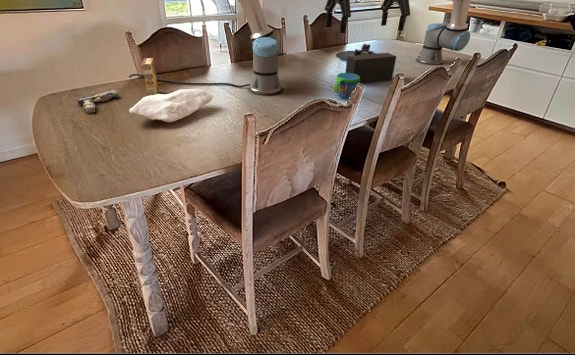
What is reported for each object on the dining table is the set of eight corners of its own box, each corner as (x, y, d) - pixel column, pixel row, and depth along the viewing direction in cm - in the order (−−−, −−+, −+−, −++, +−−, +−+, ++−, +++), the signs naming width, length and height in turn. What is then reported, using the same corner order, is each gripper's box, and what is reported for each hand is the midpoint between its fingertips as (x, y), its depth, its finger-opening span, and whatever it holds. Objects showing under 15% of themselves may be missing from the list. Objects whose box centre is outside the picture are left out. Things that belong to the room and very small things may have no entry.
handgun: (128, 97, 156) (111, 87, 164) (86, 107, 144) (70, 97, 152) (129, 103, 157) (113, 94, 165) (88, 114, 146) (72, 103, 154)
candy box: (157, 97, 164) (152, 63, 155) (147, 98, 163) (141, 63, 155) (158, 91, 171) (153, 57, 163) (149, 91, 170) (143, 58, 162)
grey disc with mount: (401, 60, 233) (403, 45, 228) (362, 67, 215) (363, 51, 211) (362, 51, 258) (364, 38, 253) (324, 57, 240) (325, 42, 236)
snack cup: (350, 91, 181) (353, 70, 175) (365, 97, 173) (368, 76, 168) (326, 96, 173) (328, 75, 168) (340, 103, 166) (343, 81, 160)
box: (352, 85, 189) (355, 59, 182) (344, 80, 195) (347, 56, 188) (391, 80, 199) (396, 56, 192) (383, 76, 205) (387, 52, 198)
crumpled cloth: (117, 110, 146) (113, 90, 140) (195, 92, 166) (194, 73, 160) (143, 139, 134) (140, 118, 128) (223, 116, 154) (224, 96, 148)
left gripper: (363, -17, 156) (355, 35, 168) (334, -23, 175) (329, 24, 186) (348, -18, 153) (341, 35, 165) (320, -23, 172) (316, 24, 184)
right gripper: (424, -17, 167) (413, 32, 178) (390, -22, 186) (382, 23, 197) (411, -17, 164) (401, 33, 175) (378, -22, 183) (371, 23, 194)
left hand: (335, 29), depth 176 cm, fingers open, 13 cm apart
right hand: (391, 28), depth 186 cm, fingers open, 13 cm apart
